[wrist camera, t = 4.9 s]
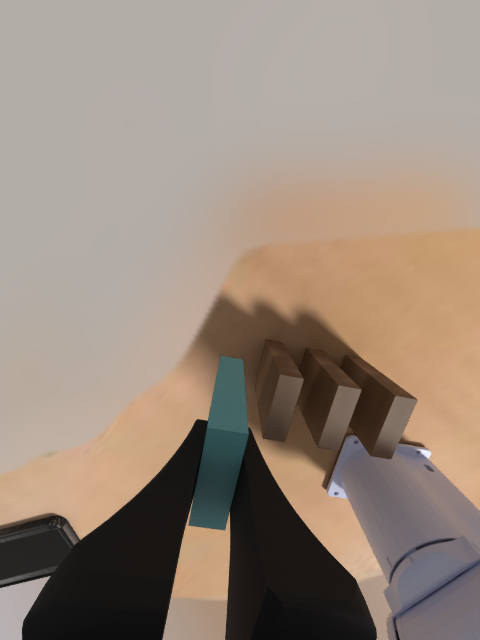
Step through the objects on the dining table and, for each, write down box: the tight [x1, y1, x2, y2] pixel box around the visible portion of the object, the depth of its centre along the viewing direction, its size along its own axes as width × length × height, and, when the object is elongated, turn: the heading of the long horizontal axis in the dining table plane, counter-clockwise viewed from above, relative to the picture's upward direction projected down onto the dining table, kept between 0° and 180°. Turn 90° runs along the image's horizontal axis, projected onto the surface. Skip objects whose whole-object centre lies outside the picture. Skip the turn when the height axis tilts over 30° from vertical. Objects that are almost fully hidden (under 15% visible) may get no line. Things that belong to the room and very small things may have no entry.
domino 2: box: [297, 348, 362, 451], centre depth 19 cm, size 2×5×7 cm, turn 169°
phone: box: [0, 516, 80, 588], centre depth 27 cm, size 8×1×15 cm
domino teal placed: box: [189, 356, 249, 530], centre depth 12 cm, size 2×5×7 cm, turn 168°
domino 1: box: [255, 340, 304, 442], centre depth 18 cm, size 2×5×7 cm, turn 168°
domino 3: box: [341, 355, 417, 459], centre depth 19 cm, size 2×5×7 cm, turn 168°
